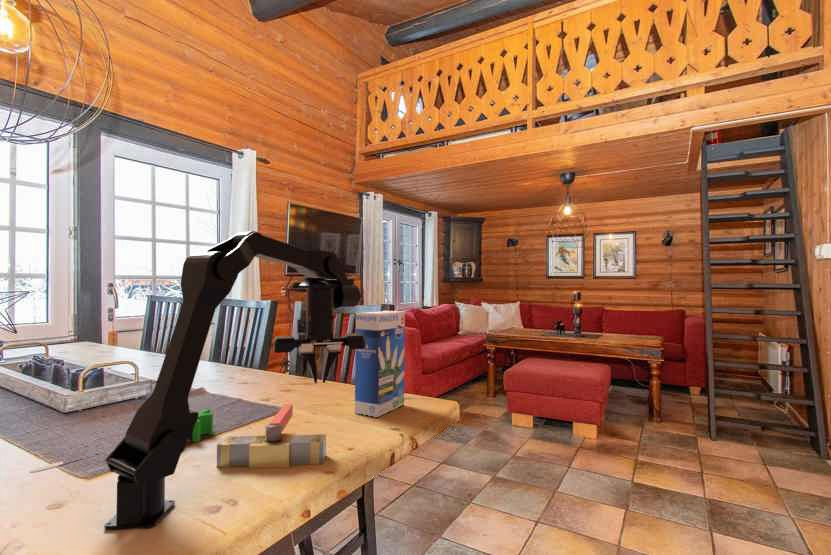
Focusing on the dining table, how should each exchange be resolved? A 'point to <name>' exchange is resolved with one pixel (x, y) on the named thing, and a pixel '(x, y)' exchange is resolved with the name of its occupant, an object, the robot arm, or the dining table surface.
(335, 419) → the dining table surface
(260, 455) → the block
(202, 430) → the pipe clamp
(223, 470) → the dining table surface
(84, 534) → the dining table surface
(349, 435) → the dining table surface
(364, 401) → the string lights box
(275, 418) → the lever
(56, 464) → the butter knife
